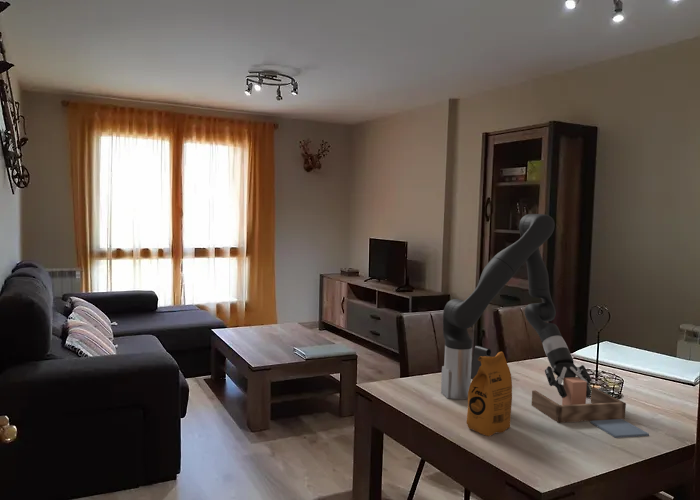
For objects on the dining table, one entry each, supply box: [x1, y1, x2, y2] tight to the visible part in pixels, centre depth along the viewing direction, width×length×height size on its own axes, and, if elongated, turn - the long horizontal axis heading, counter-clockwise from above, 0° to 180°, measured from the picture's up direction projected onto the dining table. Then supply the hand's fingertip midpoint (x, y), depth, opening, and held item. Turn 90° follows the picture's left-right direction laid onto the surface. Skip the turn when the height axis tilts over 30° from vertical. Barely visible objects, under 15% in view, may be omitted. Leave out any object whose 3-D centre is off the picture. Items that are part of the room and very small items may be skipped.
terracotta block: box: [561, 376, 587, 405], centre depth 169 cm, size 5×5×10 cm
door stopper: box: [471, 345, 492, 380], centre depth 201 cm, size 9×6×12 cm, turn 124°
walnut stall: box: [531, 387, 627, 424], centre depth 167 cm, size 23×15×5 cm, turn 101°
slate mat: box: [589, 419, 650, 439], centre depth 154 cm, size 11×11×1 cm
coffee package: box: [465, 351, 513, 437], centre depth 152 cm, size 10×12×22 cm
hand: (576, 396), depth 168 cm, fingers open, 8 cm apart
